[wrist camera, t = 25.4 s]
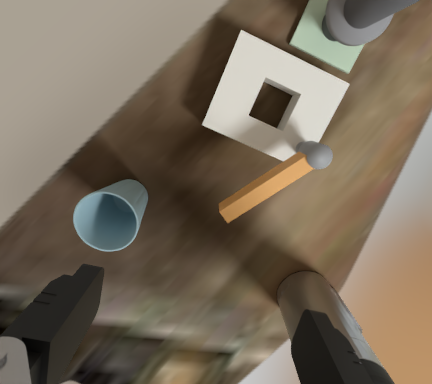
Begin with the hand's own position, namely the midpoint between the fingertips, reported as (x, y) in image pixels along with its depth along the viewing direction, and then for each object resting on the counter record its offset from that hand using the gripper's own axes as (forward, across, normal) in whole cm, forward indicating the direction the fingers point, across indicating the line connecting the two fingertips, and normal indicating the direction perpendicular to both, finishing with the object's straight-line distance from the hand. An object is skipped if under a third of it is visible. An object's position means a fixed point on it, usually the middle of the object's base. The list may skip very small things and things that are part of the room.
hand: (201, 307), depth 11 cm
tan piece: (+25, -8, -1) cm, 27 cm away
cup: (+32, +11, +8) cm, 35 cm away
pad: (+32, -12, -21) cm, 40 cm away
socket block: (+32, -6, -10) cm, 34 cm away
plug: (+32, -12, -21) cm, 40 cm away
